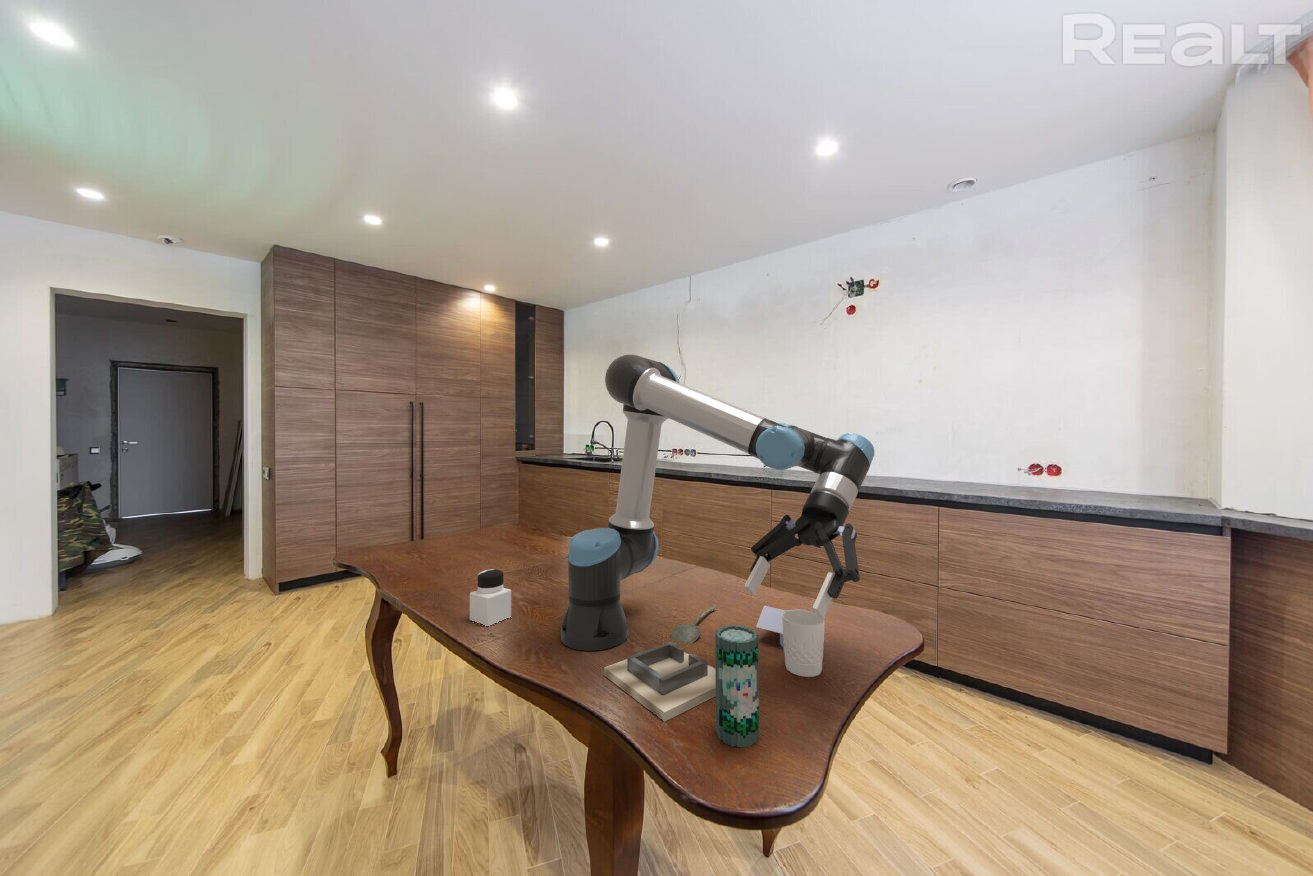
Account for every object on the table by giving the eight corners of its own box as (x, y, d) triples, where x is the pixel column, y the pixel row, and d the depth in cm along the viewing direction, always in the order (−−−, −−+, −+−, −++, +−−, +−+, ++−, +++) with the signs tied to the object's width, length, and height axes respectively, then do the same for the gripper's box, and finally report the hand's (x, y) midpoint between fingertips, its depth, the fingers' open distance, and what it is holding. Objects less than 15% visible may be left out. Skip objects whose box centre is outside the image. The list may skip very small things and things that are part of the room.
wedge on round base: (756, 642, 98) (816, 659, 91) (755, 611, 99) (815, 625, 91) (772, 628, 106) (828, 643, 98) (771, 600, 106) (828, 612, 98)
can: (724, 749, 64) (723, 644, 64) (711, 723, 70) (711, 627, 70) (764, 744, 65) (763, 640, 65) (748, 719, 71) (748, 624, 71)
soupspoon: (665, 645, 100) (692, 652, 97) (665, 630, 100) (692, 637, 96) (702, 608, 119) (726, 614, 116) (703, 596, 119) (726, 601, 116)
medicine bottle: (511, 617, 113) (511, 570, 113) (487, 627, 107) (487, 577, 107) (493, 612, 116) (493, 565, 117) (469, 621, 110) (469, 572, 111)
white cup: (820, 683, 81) (819, 628, 82) (777, 672, 86) (776, 619, 86) (828, 665, 88) (828, 614, 88) (788, 655, 92) (788, 606, 92)
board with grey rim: (604, 675, 85) (604, 654, 85) (669, 650, 94) (669, 631, 94) (664, 722, 70) (664, 696, 70) (733, 687, 80) (733, 664, 80)
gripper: (906, 524, 76) (863, 638, 66) (782, 508, 95) (735, 594, 86) (891, 495, 72) (843, 610, 63) (766, 485, 92) (715, 571, 82)
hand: (781, 601), depth 74 cm, fingers open, 13 cm apart
